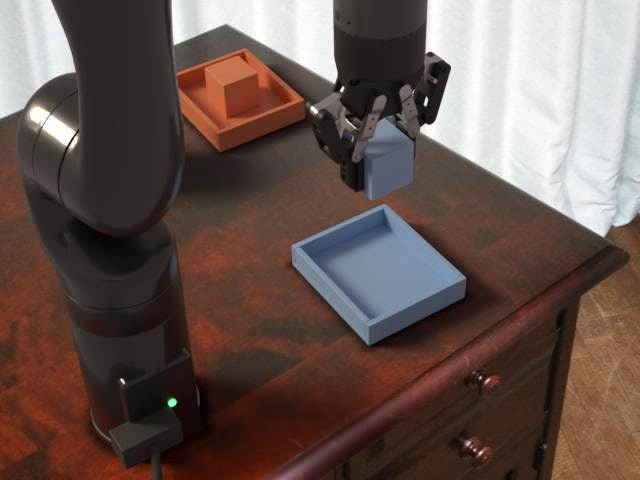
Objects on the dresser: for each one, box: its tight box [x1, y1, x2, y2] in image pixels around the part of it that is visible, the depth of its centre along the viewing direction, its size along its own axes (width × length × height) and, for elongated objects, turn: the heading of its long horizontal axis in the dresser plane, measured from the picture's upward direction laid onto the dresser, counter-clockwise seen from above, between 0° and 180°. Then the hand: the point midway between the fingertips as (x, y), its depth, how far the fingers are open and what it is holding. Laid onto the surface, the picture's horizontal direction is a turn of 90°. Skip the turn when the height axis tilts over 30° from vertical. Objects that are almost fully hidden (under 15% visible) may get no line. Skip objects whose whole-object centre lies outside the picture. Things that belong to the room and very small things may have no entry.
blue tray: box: [291, 203, 467, 347], centre depth 111 cm, size 13×11×3 cm
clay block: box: [205, 56, 260, 118], centre depth 132 cm, size 4×4×4 cm
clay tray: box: [177, 47, 306, 153], centre depth 133 cm, size 13×11×3 cm
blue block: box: [352, 117, 415, 201], centre depth 102 cm, size 4×4×4 cm
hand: (378, 175), depth 103 cm, fingers closed on blue block, 4 cm apart
